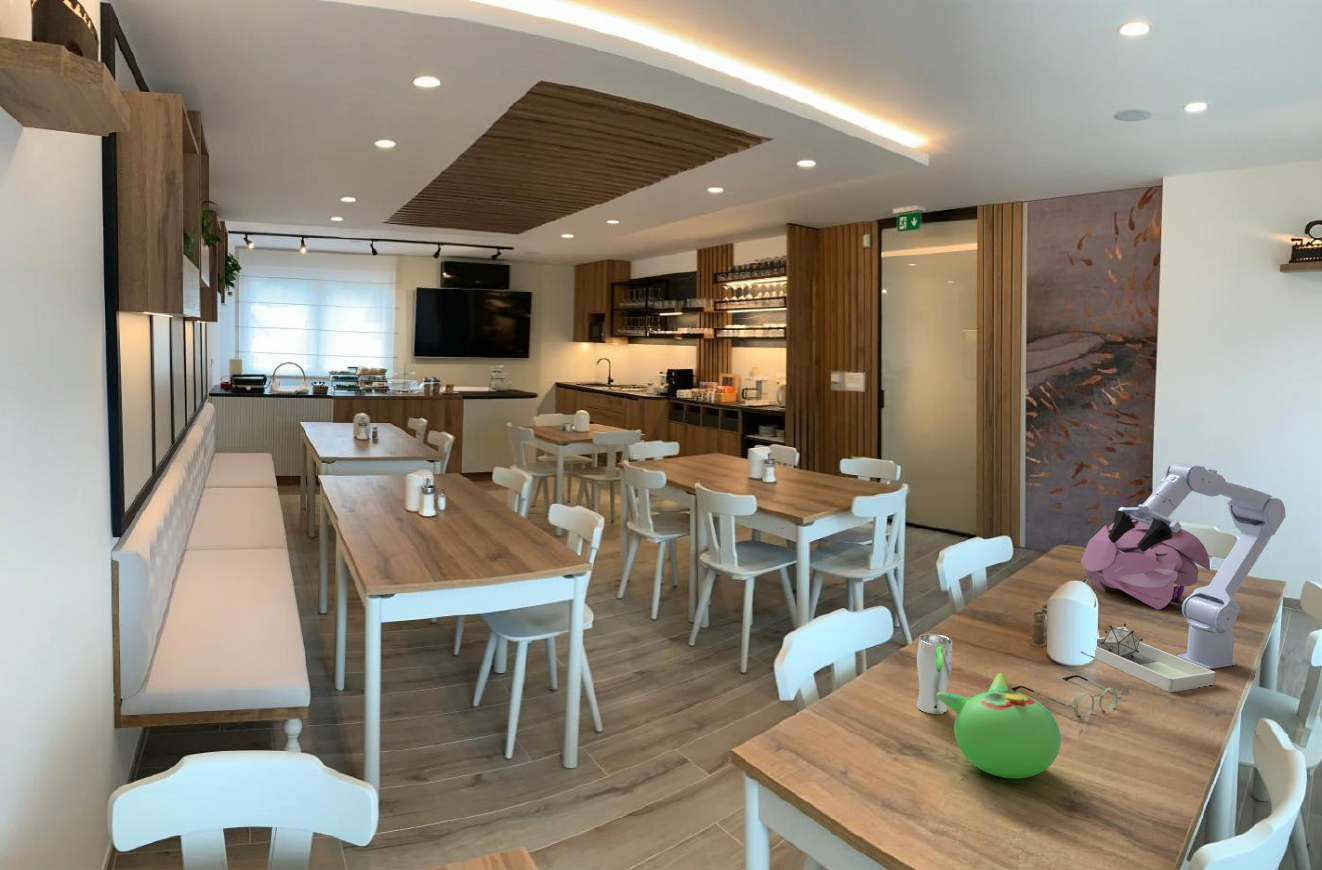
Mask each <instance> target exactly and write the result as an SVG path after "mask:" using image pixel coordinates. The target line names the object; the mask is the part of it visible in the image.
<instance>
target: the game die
mask: <svg viewBox="0 0 1322 870" xmlns="http://www.w3.org/2000/svg"><path fill="white" fill-rule="evenodd" d="M1108 627H1109V628H1110V629H1109V630H1108V631H1107V630H1104V633H1105V636H1104V637H1105V639H1104V642H1101V643H1100V644H1105V645H1106V646H1107V647H1108V648H1109V649H1110V651H1109V652H1113V653H1114V654H1116V655H1118V656H1120V657H1124V656H1131V657H1132V658H1134V656H1133V654H1134V653H1135V652H1137V653H1139V651H1138V650H1137V648H1138V645H1139V642H1143V641H1144V639H1143V638H1139V637H1138V636H1137V635H1135V634H1134V633H1135V630H1131V629H1129V628H1128V627H1127V624H1126V622H1124V623H1123V626H1122V625H1121V626H1114V627H1113V626H1112V625H1110V624H1109V626H1108Z"/></svg>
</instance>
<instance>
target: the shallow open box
mask: <svg viewBox="0 0 1322 870" xmlns="http://www.w3.org/2000/svg"><path fill="white" fill-rule="evenodd" d="M1105 637H1106V636H1103V637H1102V636H1101V637H1096V638H1097V646H1096V650H1095V658H1094V659H1095V660H1096V661H1099V662H1101V663H1102V664H1106V665H1108V666H1110V667H1113V668H1115V669H1117V670H1119V671H1121V672H1124V673H1126V674H1128V675H1130V676H1133V677H1134V678H1137V679H1140V680H1141V681H1144V682H1146V683H1149V684H1150V685H1153V686H1155V687H1157V688H1159V689H1161V690H1164V691H1166V692H1168V693H1174V692H1175V693H1176V692H1180V691H1181V692H1182V691H1186V690H1187V691H1188V690H1193V689H1199V688H1198V687H1200V688H1204V687H1203V686H1206V687H1210V686H1209V685H1212V686H1216V678H1217V671H1214V670H1212V669H1207V668H1204V667H1202V666H1199V665H1197V664H1194V663H1192V662H1189V661H1187V660H1184V659H1182V658H1179V657H1178V656H1176V655H1174V654H1171V653H1169V652H1166V651H1163V650H1161V649H1159V648H1157V647H1154V646H1152V645H1148V644H1146V643H1144V642H1142V641H1140V642H1139V645H1138V648H1137V650H1138V651H1139V653H1137V652H1135V653H1134V654H1133V656H1134V658H1132V657H1131V656H1124V657H1120V656H1118V655H1116V654H1114V653H1113V652H1109V651H1110V649H1109V648H1108V647H1107V646H1106V645H1105V644H1100V643H1101V642H1104V639H1105Z"/></svg>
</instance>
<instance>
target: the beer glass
mask: <svg viewBox="0 0 1322 870" xmlns="http://www.w3.org/2000/svg"><path fill="white" fill-rule="evenodd" d="M952 668H953V640H952V639H951V638H950V637H948V636H945V635H941V634H938V633H937V634H936V633H924V634H920V635H919V637H918V643H917V651H916V670H917V676H918V677H917V678H918V686H919V687H918V688H919V689H918V690H919V691H918V696H917V701H916V705H915V706H916V708H917V709H918V711H920V710H921V712H922V711H923V712H922V713H925V712H928V713H933V714H942V713H944V712H946V713H947V712H948V706H947V705H946V704H944V703H943V702H942V701H941V700H939V699H938V698H937V696H936V695H937V693H939V692H944V693H947V688H948V685H949V681H950V678H951V674H952ZM928 713H927V714H928ZM942 715H943V714H942Z"/></svg>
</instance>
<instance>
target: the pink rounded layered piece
mask: <svg viewBox="0 0 1322 870" xmlns="http://www.w3.org/2000/svg"><path fill="white" fill-rule="evenodd" d="M1132 522H1133V524H1134V525H1135V528H1133V529H1131V530H1129V531H1128V532H1126V533H1125V534H1124V535H1123V536H1122V537H1121V538H1120V539H1119V540H1118V541H1116V542H1115V543H1113V542H1111V540H1110V539H1109V537H1108V536H1109V534H1110V532H1111V530H1112V527H1113V525H1114V522H1113V523H1112V524H1111V525H1110V526H1107V524H1105V525H1103V527H1102V528H1101V529H1100V530H1099V531H1098V532H1097V533H1095V535H1093V536H1092V538H1090V540H1089V541H1088V542H1087V544H1086V547H1085V550H1084V552H1083V555H1082V558H1081V560H1080V564H1081V565H1082V566H1083V568H1085V570H1087V571H1086V572H1085V574H1086V575H1087V576H1089V577H1091V582H1092V584H1093V586H1094V587H1095V588H1096V589H1098V590H1100V591H1101V592H1103V593H1106V588H1105V586H1107V587H1109V588H1112V589H1118V590H1121V592H1124V593H1126V594H1128V595H1130V596H1132V598H1135V599H1137V600H1139V601H1141V602H1142V603H1144V604H1146V605H1148V606H1149V607H1152V608H1153V609H1155V610H1161V609H1163V608H1165V607H1166V606H1167V605H1168V604H1173V605H1179V606H1180V605H1183V602H1184V601H1182V600H1181V599H1182V596H1183V594H1184V591H1185V587H1191V586H1195V585H1196V583H1197V582H1198V579H1199V570H1198V566H1201V567H1202V568H1204V569H1205V570H1208V571H1209V572H1211V563H1210V558H1209V554H1208V551H1207V549H1206V547H1205V545H1204V543H1202V541H1201V539H1199V538H1198V537H1197V536H1195V534H1193V533H1191V532H1190V531H1187V530H1185V529H1183V528H1182V527H1181V528H1180V529H1179V531H1178V532H1177V533H1176V532H1172V533H1171V534H1172V536H1173V537H1172V538H1171V539H1169V540H1166V541H1163V542H1160V543H1158V544H1156V545H1154V546H1152V547H1151V548H1149V549H1147V550H1146V551H1144V552H1142V551H1141V550H1140V549H1139V547H1138V546H1137V545H1138V543H1139V542H1140V540H1141V539H1142V538H1143V537H1144V535H1145V534H1146V533H1147V531H1148V530H1149V528H1150V526H1149V525H1146V524H1144V523H1142V522H1140V521H1136V520H1132ZM1197 565H1198V566H1197ZM1104 585H1105V586H1104ZM1175 585H1176V586H1175ZM1180 600H1181V601H1180Z"/></svg>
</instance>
